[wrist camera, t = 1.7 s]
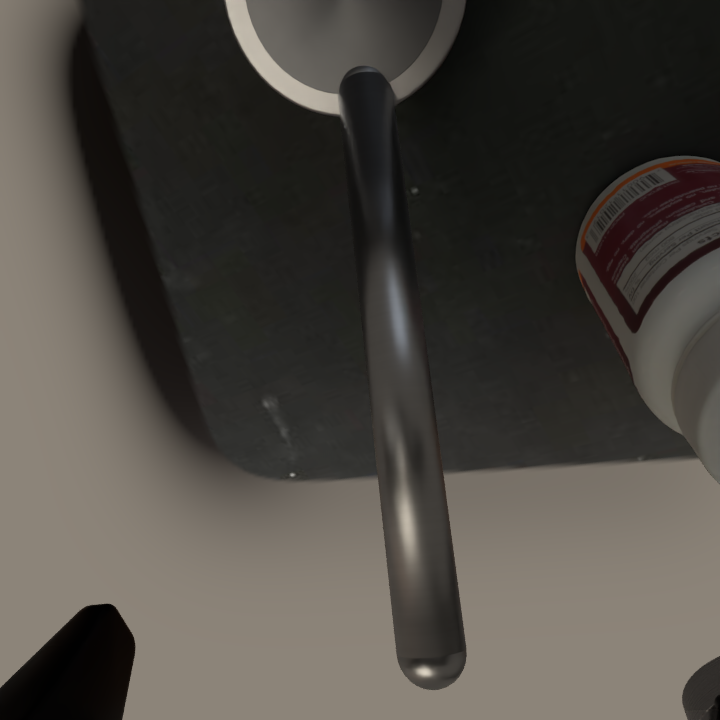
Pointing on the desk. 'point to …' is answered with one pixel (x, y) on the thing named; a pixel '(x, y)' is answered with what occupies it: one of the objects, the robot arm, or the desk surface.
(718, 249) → the pill bottle
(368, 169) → the metal ladle
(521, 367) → the desk surface
